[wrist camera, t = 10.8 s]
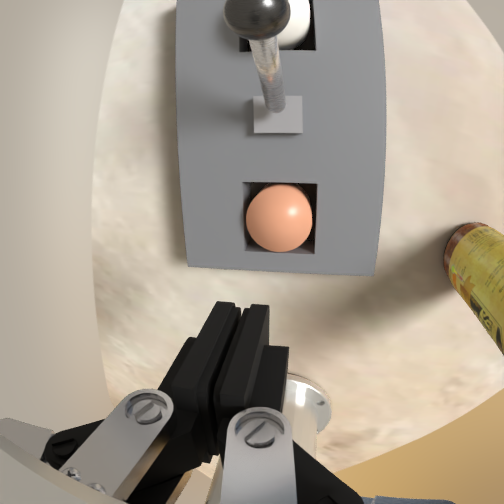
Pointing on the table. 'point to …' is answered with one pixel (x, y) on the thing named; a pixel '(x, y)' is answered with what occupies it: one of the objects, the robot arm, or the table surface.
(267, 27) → the toggle lever
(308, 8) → the offwhite button
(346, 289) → the table surface
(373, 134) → the control panel
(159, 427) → the robot arm
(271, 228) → the terracotta button
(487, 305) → the sauce bottle
